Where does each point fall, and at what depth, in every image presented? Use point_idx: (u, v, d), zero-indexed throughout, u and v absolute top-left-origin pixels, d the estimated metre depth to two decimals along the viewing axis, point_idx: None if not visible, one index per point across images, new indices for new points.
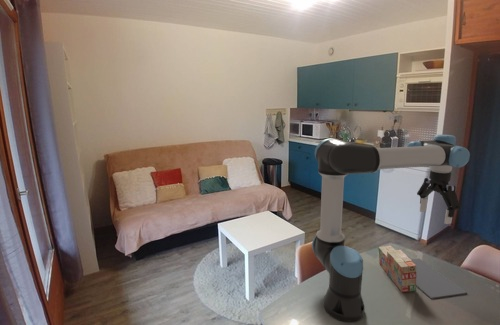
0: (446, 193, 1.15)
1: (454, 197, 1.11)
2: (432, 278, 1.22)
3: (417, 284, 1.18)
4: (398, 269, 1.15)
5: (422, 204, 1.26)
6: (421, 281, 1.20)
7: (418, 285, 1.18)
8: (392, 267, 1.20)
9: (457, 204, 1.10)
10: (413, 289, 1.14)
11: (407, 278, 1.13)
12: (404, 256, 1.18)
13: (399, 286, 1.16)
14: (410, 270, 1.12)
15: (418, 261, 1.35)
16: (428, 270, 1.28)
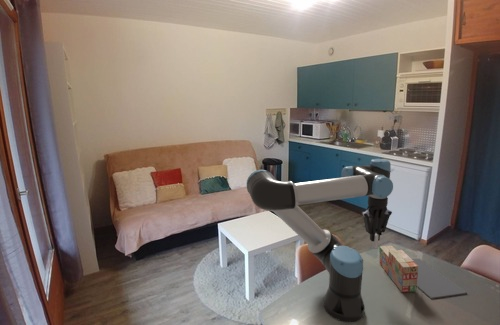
0: (372, 219, 1.15)
1: (366, 222, 1.15)
2: (432, 278, 1.22)
3: (417, 284, 1.18)
4: (399, 269, 1.15)
5: None
6: (421, 281, 1.20)
7: (418, 285, 1.18)
8: (393, 267, 1.20)
9: (367, 229, 1.16)
10: (413, 290, 1.14)
11: (408, 278, 1.13)
12: (406, 256, 1.18)
13: (399, 286, 1.16)
14: (412, 270, 1.12)
15: (418, 261, 1.35)
16: (428, 270, 1.28)
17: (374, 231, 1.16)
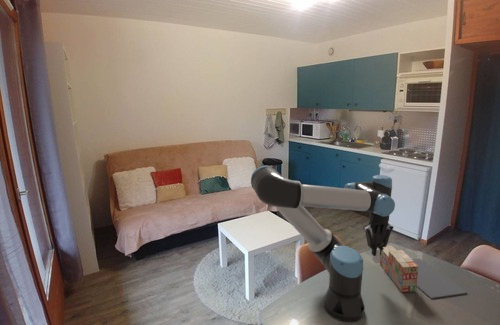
0: (374, 234, 1.17)
1: (367, 237, 1.17)
2: (432, 278, 1.22)
3: (417, 284, 1.18)
4: (399, 269, 1.15)
5: None
6: (421, 281, 1.20)
7: (418, 285, 1.18)
8: (393, 267, 1.20)
9: (369, 244, 1.17)
10: (413, 290, 1.14)
11: (408, 278, 1.13)
12: (406, 256, 1.18)
13: (399, 286, 1.16)
14: (412, 270, 1.12)
15: (418, 261, 1.35)
16: (428, 270, 1.28)
17: (376, 246, 1.17)
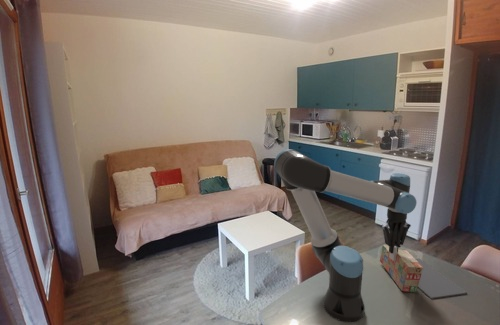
0: (391, 231, 1.18)
1: (385, 235, 1.18)
2: (432, 278, 1.22)
3: None
4: (403, 268, 1.14)
5: None
6: (421, 281, 1.20)
7: (418, 285, 1.18)
8: (396, 266, 1.20)
9: (387, 241, 1.18)
10: (413, 290, 1.14)
11: (411, 278, 1.13)
12: (411, 257, 1.18)
13: (400, 285, 1.15)
14: (416, 271, 1.12)
15: (418, 261, 1.35)
16: (428, 270, 1.28)
17: (393, 243, 1.18)
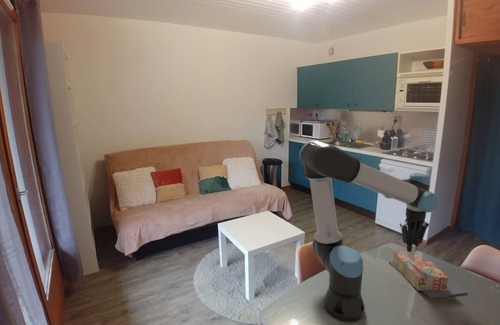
0: (410, 230, 1.20)
1: (403, 234, 1.20)
2: None
3: None
4: (438, 274, 1.15)
5: None
6: None
7: None
8: (424, 267, 1.20)
9: (405, 240, 1.20)
10: (419, 288, 1.14)
11: (434, 283, 1.13)
12: None
13: (420, 275, 1.15)
14: (442, 285, 1.14)
15: None
16: None
17: (412, 242, 1.20)
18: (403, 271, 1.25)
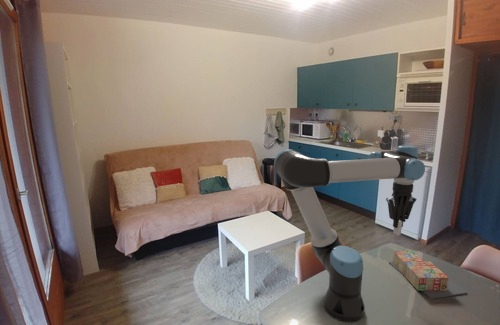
0: (396, 205, 1.16)
1: (390, 209, 1.16)
2: None
3: None
4: (438, 274, 1.15)
5: None
6: None
7: None
8: (424, 267, 1.20)
9: (391, 215, 1.16)
10: (419, 288, 1.14)
11: (434, 283, 1.13)
12: None
13: (420, 275, 1.15)
14: (442, 285, 1.14)
15: None
16: None
17: (398, 217, 1.16)
18: (403, 271, 1.25)
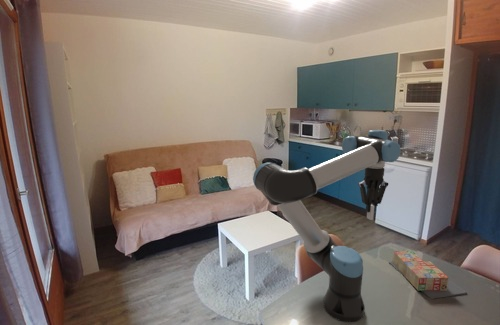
0: (368, 189, 1.17)
1: (362, 193, 1.17)
2: None
3: None
4: (438, 274, 1.15)
5: None
6: None
7: None
8: (424, 267, 1.20)
9: (363, 199, 1.17)
10: (419, 288, 1.14)
11: (434, 283, 1.13)
12: None
13: (420, 275, 1.15)
14: (442, 285, 1.14)
15: None
16: None
17: (370, 202, 1.17)
18: (403, 271, 1.25)
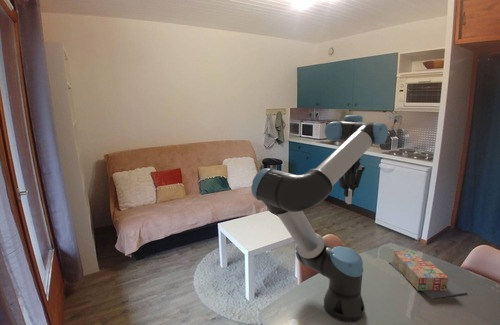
0: (346, 174, 1.19)
1: (339, 178, 1.19)
2: None
3: None
4: (438, 274, 1.15)
5: None
6: None
7: None
8: (424, 267, 1.20)
9: (341, 184, 1.19)
10: (419, 288, 1.14)
11: (434, 283, 1.13)
12: None
13: (420, 275, 1.15)
14: (442, 285, 1.14)
15: None
16: None
17: (348, 186, 1.19)
18: (403, 271, 1.25)
